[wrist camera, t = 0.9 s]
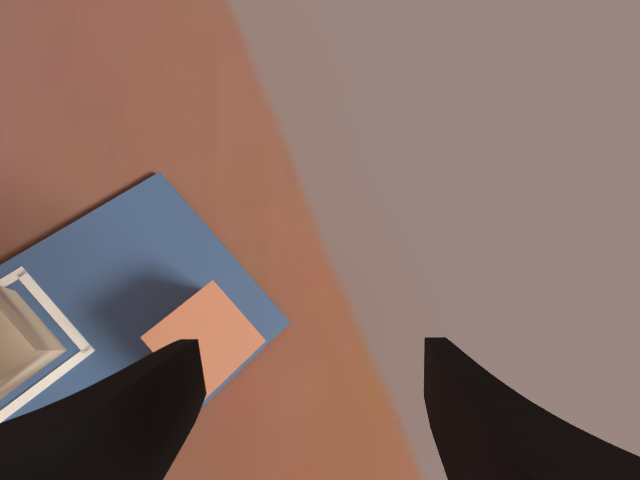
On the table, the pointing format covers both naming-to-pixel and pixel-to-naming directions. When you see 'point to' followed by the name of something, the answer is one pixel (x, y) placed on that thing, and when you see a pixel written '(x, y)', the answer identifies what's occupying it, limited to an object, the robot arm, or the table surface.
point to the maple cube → (22, 342)
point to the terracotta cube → (209, 333)
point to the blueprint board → (122, 288)
